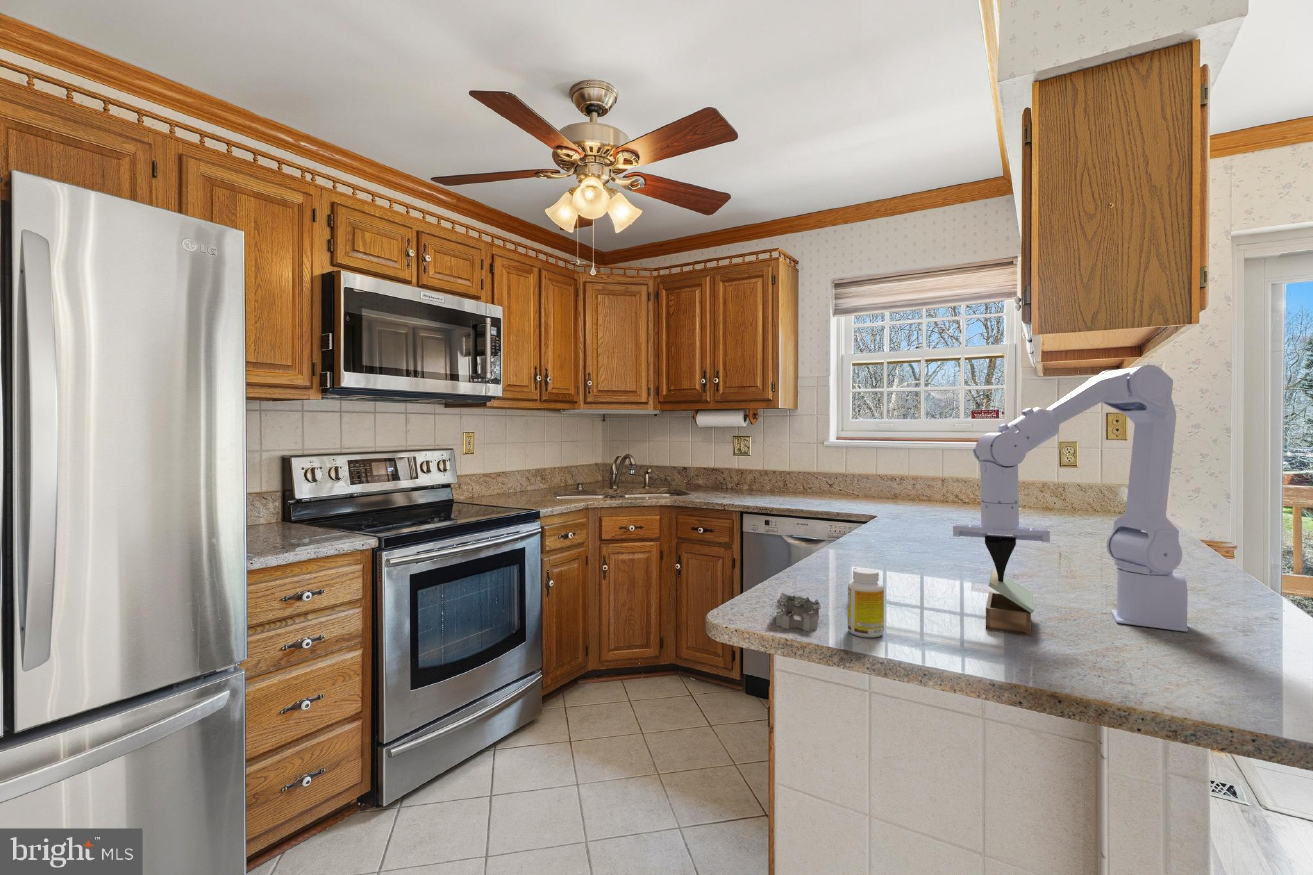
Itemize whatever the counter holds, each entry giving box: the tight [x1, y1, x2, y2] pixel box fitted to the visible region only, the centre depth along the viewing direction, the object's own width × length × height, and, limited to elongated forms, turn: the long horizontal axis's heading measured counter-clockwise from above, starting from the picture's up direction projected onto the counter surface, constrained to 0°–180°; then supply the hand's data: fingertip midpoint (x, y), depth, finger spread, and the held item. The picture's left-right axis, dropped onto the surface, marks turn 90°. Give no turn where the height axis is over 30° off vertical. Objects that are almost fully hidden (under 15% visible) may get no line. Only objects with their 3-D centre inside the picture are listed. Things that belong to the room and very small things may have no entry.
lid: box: [988, 568, 1035, 614], centre depth 106 cm, size 7×12×1 cm
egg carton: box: [773, 592, 822, 632], centre depth 108 cm, size 11×8×4 cm
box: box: [985, 591, 1032, 637], centre depth 106 cm, size 6×12×4 cm, turn 150°
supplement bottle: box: [847, 567, 885, 639], centre depth 101 cm, size 6×6×10 cm
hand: (1000, 580), depth 107 cm, fingers closed, pressing on lid
